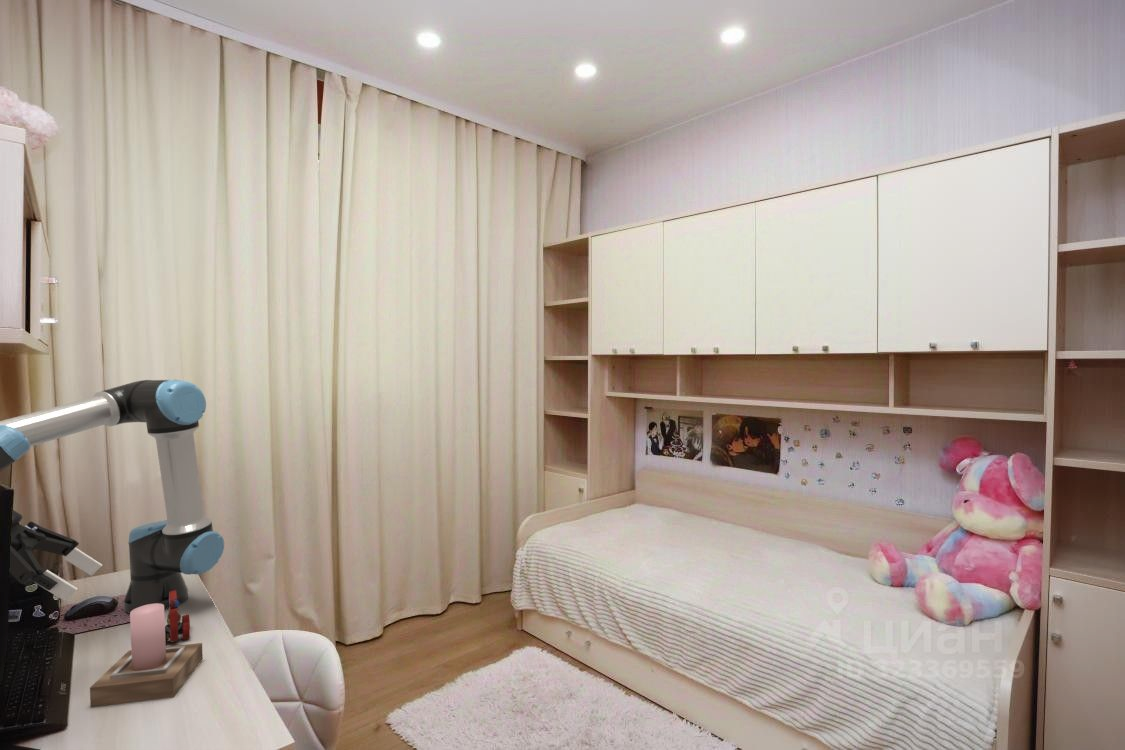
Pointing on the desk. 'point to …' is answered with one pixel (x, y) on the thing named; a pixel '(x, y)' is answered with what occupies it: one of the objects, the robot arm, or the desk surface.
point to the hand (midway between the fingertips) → (85, 582)
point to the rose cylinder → (148, 637)
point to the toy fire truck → (176, 621)
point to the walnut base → (146, 677)
